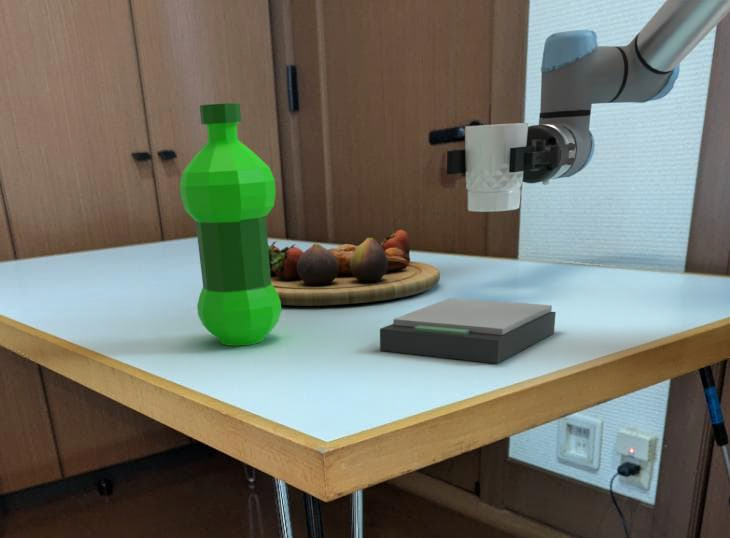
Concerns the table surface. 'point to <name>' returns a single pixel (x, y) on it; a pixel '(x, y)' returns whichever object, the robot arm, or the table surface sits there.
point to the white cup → (493, 166)
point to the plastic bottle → (231, 231)
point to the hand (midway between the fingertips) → (480, 161)
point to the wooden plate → (349, 272)
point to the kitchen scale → (469, 330)
